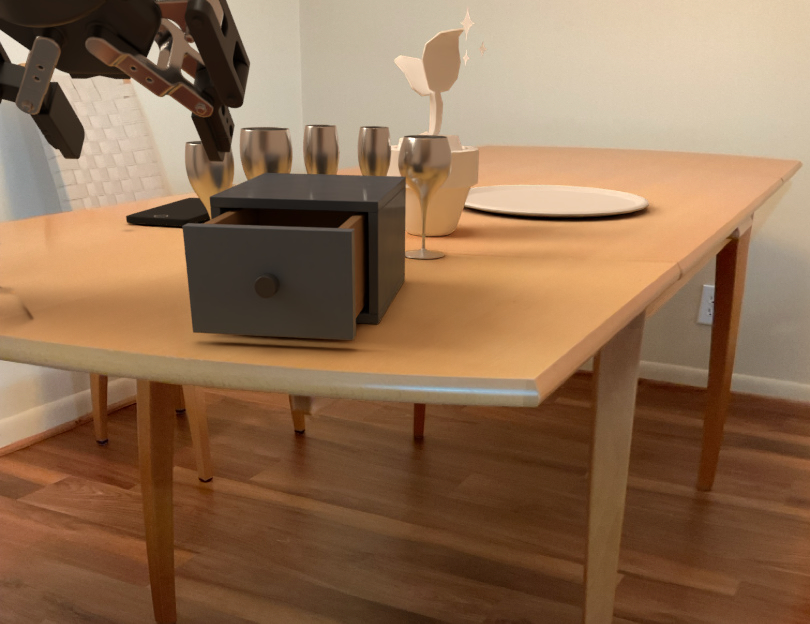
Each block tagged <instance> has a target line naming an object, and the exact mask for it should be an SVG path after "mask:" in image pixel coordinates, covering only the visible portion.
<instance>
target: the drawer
mask: <svg viewBox="0 0 810 624" xmlns="http://www.w3.org/2000/svg"><path fill="white" fill-rule="evenodd" d="M368 213H369V212H349V211H317V210H286V209H254V208H234V209H232V210H230V211H228V212H226V213H224V214H222V215H220V216H218V217H216V218H214V219H212V220H210V219H209V220H208V221H206V222H204V223H188V224H186V225H183V226H182V227H181V228H182V237H183V246H184V258H185V267H186V276H187V277H186V278H187V286H188V295H189V296H188V297H189V306H190V316H191V325H192V333H194V334H214V335H215V334H216V335H233V336H234V335H235V336H258V337H278V338H279V337H280V338H296V339H297V338H298V339H299V338H300V339H320V340H321V339H322V340H341V341H354V339H355V338H356V336H357V323H356V317H357V316H358V315H359V313H360V312H361V310H362V309H363V307H364V306H365V305H366V303H367V302H368V300H369V235H368Z"/></svg>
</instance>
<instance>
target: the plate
mask: <svg viewBox="0 0 810 624" xmlns="http://www.w3.org/2000/svg"><path fill="white" fill-rule="evenodd" d="M649 206H650V202H649V200H648V199H647V198H645V197H643V196H641V195H639V194H636V193H631V192H627V191H622V190H615V189H609V188H601V187H592V186H581V185H579V186H578V185H566V184H565V185H563V184H496V185H485V186H484V185H483V186H476V187H471V188H470V190H469V193H468V196H467V199H466V202H465V205H464V208H468V209H474V210H479V211H484V212H488V213H493V214H499V215H508V216H515V217H516V216H517V217H528V218H547V219H548V218H549V219H551V218H552V219H581V218H598V217H607V216H615V215H621V214H629V213H633V212H638V211H642V210H644V209H645V208H648V207H649Z"/></svg>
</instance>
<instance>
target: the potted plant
mask: <svg viewBox="0 0 810 624" xmlns="http://www.w3.org/2000/svg"><path fill="white" fill-rule="evenodd" d="M459 24H461V25H462V27H458V28H452V29H445V30H440V31H438V32H437V33H436V34H435V35H434V36H432V37H431V38H430V39H429V40H428V41H426V42H425V43H424V46H423V50H422V55H421V57H420V58H419V57H414V56H408V55H403V54H400V55H398V56H397V57H396V58H394V59H393V63H394V64H395V65H396V66H397V67H398V68H399V70H401V72H402V73H403V74H404V77H405V78H406V80H407V82H408V84H409V87H410V89H411V90H412V91H414V92H415V93H416V94H418V95H419V96H420V97H427V96H428V97H429V123H428V125H429V126H428V131H427V130H425V131H423V132H421V133H419V134H417V135H438V136H446V137H447V138H448V141H449V145H450V149H451V154H452V169H451V172H450V175H449V177H448V178H447V180H446V181H445V182H444V183H443V184H442V186H441V187H440V188H439V189H438V190H437V191H436V192H435V193H434V195H433V196H432V198H431V200H430V202H429V205H428V209H427V215H426V228H425V237H443V236H449V235H450V234H452V233H453V232H454V231H456V230H457V228H458V225H459V222H460V220H461V217H462V213H463V211H464V208H465V207H464V205H465V202H466V199H467V196H468V193H469V190H470V188H472V187H474V186H476V185H477V184H479V170H480V169H479V167H480V148H479V147H476V146H472V145H471V146H470V145H462V143H461V141H460V136H459V135H458V134H457V135H456V134H440V132H441V128H442V123H443V110H444V101H443V97H442V93H444V92H448V91H450V89H451V88H452V87H453V85H454V84H455V83H456V81H457V80H458V77H459V73H460V69H461V64H462V61H461V53H460V47H459V46H460V45H459V44H460V36H461V35H462V34H463V32H464V37H465V40H467V39H468V35H469V31H470V28H471V27H472V26H473V25H475V24H476V23H475V22H474V21H472V18H471V16H470V9H469V6H467V9H466V14H465V17H464V19H463V20H462V21H460V22H459ZM487 50H489V49H488V48H486V47H485V43H484V42H482V43H481V46H480V47H479V48H478V51H479V52H480V57H481V58H483V56H484V53H485V51H487ZM470 59H471V58H470V57H469V56H468V50H467V49H466V50H465V54H464V56H462V60H463V61H464V67H465V68H466V66H467V62H468V61H469V60H470ZM403 138H404V136H402V137H400V138H399V140H398V144H391V161H390V166H389V170H388V173H387V176H400V177H401V175H400V172H399V168H398V156H399V151H400V147H401V144H402V141H403ZM405 232H407V233H408V234H409V235H414V236H419V237H422V213H421V207H420V203H419V200H418V198H417V196H416V195H415V193H414V192H413V191H412V189H411V188H410V187H409V186H408V185H407V184H406V213H405Z"/></svg>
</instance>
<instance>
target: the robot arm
mask: <svg viewBox="0 0 810 624" xmlns="http://www.w3.org/2000/svg"><path fill="white" fill-rule="evenodd" d="M173 22H174V23H173ZM0 31H1V32H3V33H4V34H5V35H7V36H8V37H9V38H11V39H13V41H15V42H17V43H18V44H20V45H21V46H22V47H24V48H25V49H27V50H28V54H27V57H26V61H25V64H24V65H20V64H17V63H12V60H11V59H10V57H9V55H8V54H7V53H8V52H7V51H6V49H5V47H4V45H3V44H2V42H1V41H0V105H1V104H2V102H3V100H4V101H8V102H12V103H15V105H16V107H17V109H19V110H20V111H21V112H23V113H25V114H27V115H30V117H31V118H32V120H33V121H34V123H35V125H36V126H37V128H38V129H39V130H40V133H41V134H42V135H43V137H44V139H45V140H46V142H47V143H48V145H50V146H51V147H52V148H53V149H55V150H58V151H59V152H60V153H61V156H62V157H63V158H64V159H65V160H79V159H80V158H81V155H82V150H83V146H84V141H85V137H86V131H85V128H84V125H83V124H82V122H81V119H79V116H78V115H77V113H76V111H75V109H74V108H73V106H72V104H71V103H70V101H69V99H68V97H67V96H66V94H65V92H64V90H63V88H62V87H61V86H60V84H59V81H52V78H53V76H54V73H55V69H56V70H58V71H59V72H63V73H65V74H69V77H70V78H71V79H72V80H87V79H92V78H96V77H104V78H109V79H113V80H131V79H133V80H134V81H135V82H136V83H138V84H139V85H141V86H142V87H143V88H145V89H146V90H148V91H149V92H150V93H152V94H154V95H155V96H156V97H159V98H165V96H168V97H170V98H172V99H173V100H174V101H176V102H178V103H179V104H180V105H182V107H184V108H186V109H187V110H188V111H190V112H191V115H190V118H191V120H192V123H193V125H194V127H195V130H196V132H197V135H198V137H199V141H201V142H202V144H203V147H204V149H205V152H206V154H207V156H208V159H209V161H211V162H223V161H224V157H225V152H230V149H231V148H232V143H233V137H234V133H235V132H234V131H235V122H234V119H233V116H232V113H231V110H230V109H239V108H241V107H242V106H243V105H244V102H245V97H246V96H245V95H246V90H247V84H248V79H249V74H250V67H251V61H250V59H249V56H248V53H247V50H246V47H245V46H244V42H243V40H242V38H241V34H240V32H239V30H238V27H237V25H236V22H235V20H234V16H233V13H232V12H231V9H230V6H229V4H228V1H227V0H0ZM154 42H155V43H156V45H157V47H158V50H159V52H158V58H157V62H156V63H154V62H153V61H152V60H150V59H149V58H148V56H149V54H150V51H151V49H152V47H153V45H154ZM193 43H194V44H195V46H196V49H197V50H196V49H195V48H193V47H192V46H191V45H190V44H193ZM182 71H183V72H185V73H186V74H187V75H188V76H190V77H191V79H192V78H193V79H194V80H193V82H191V81H190V80H189V79H187V78H186V77H185V76H184V74H183V73H182Z"/></svg>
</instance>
